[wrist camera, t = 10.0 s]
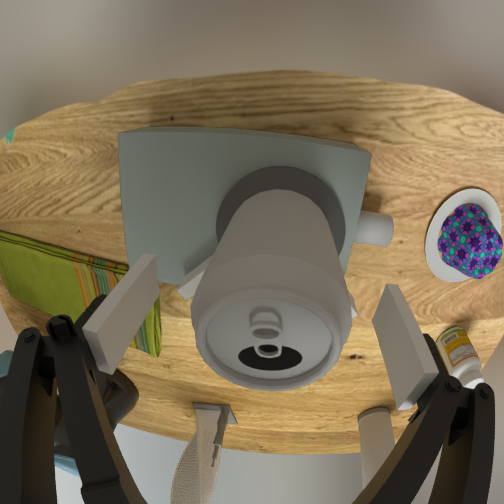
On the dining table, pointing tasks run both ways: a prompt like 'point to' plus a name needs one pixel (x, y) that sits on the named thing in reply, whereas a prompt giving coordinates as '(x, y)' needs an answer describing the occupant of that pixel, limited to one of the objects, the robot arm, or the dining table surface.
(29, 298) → the dish towel
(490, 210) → the pudding
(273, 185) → the gearbox
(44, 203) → the dining table surface
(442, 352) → the supplement bottle
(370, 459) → the travel mug
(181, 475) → the skyscraper
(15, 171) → the dining table surface
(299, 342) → the can
